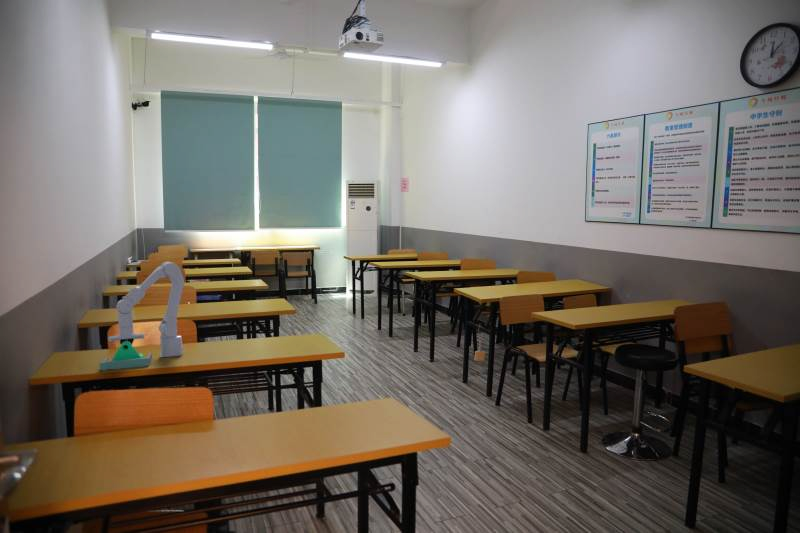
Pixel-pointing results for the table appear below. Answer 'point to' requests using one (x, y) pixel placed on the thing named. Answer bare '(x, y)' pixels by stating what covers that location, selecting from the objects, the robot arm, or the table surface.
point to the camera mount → (126, 352)
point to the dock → (125, 363)
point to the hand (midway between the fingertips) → (128, 355)
